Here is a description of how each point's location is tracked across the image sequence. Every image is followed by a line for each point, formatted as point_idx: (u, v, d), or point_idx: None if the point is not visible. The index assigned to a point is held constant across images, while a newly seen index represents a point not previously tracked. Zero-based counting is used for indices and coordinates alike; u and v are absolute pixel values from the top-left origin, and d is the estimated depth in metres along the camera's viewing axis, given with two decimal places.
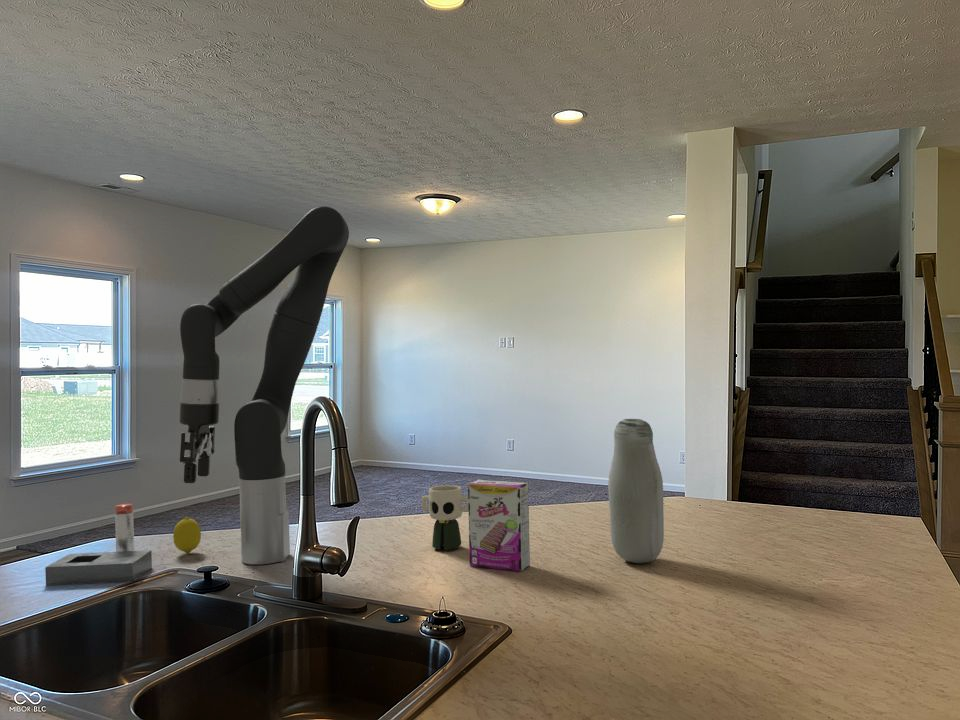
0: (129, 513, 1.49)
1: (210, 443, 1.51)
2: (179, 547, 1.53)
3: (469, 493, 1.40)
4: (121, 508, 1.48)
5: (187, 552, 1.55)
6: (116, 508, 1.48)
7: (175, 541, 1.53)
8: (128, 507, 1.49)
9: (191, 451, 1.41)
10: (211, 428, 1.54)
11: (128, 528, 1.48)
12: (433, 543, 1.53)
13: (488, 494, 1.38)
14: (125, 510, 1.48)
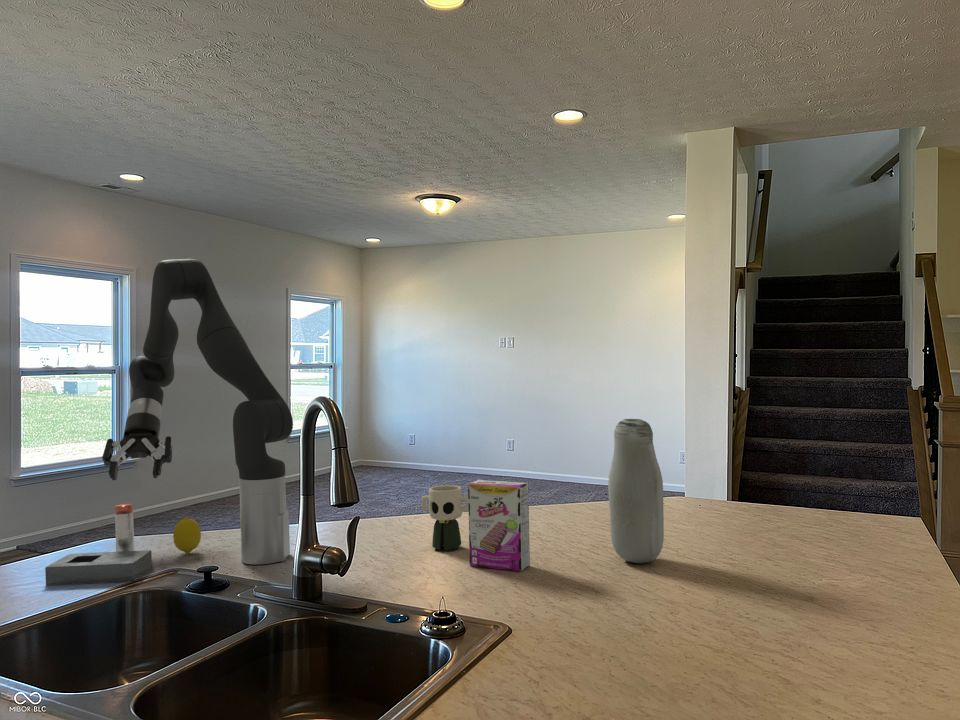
0: (129, 513, 1.49)
1: (149, 446, 1.65)
2: (179, 547, 1.53)
3: (469, 493, 1.40)
4: (121, 508, 1.48)
5: (187, 552, 1.55)
6: (116, 508, 1.48)
7: (175, 541, 1.53)
8: (128, 507, 1.49)
9: None
10: None
11: (128, 528, 1.48)
12: (433, 543, 1.53)
13: (488, 493, 1.38)
14: (125, 510, 1.48)
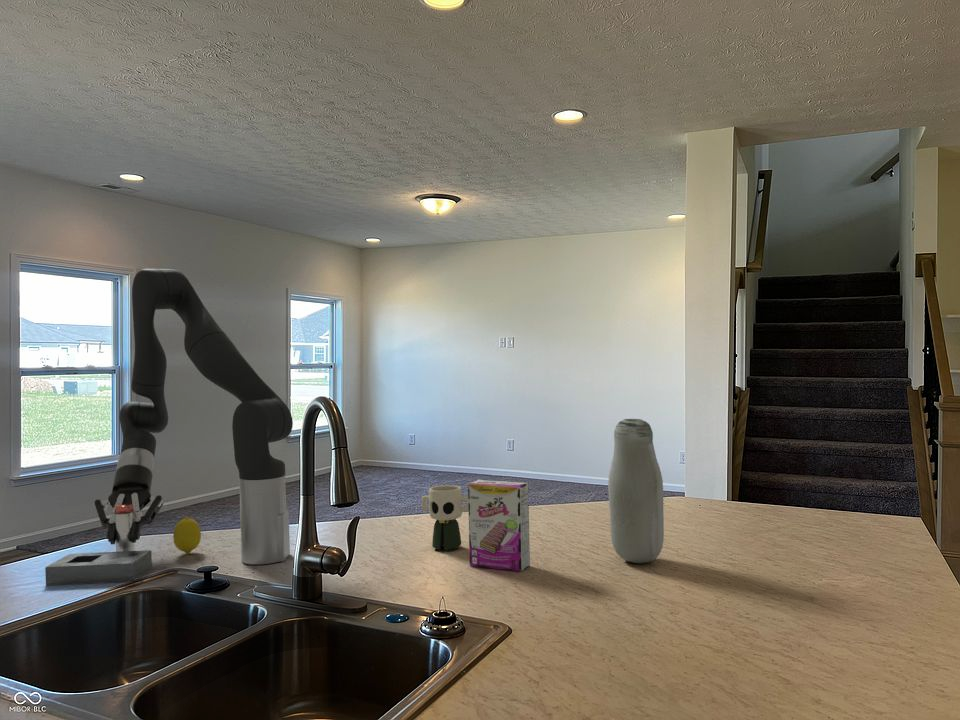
0: (129, 513, 1.49)
1: (135, 504, 1.52)
2: (179, 547, 1.53)
3: (469, 493, 1.40)
4: (121, 508, 1.48)
5: (187, 552, 1.55)
6: (116, 508, 1.48)
7: (175, 541, 1.53)
8: (128, 507, 1.48)
9: (98, 514, 1.50)
10: None
11: (128, 528, 1.48)
12: (433, 543, 1.53)
13: (488, 493, 1.38)
14: (125, 510, 1.48)
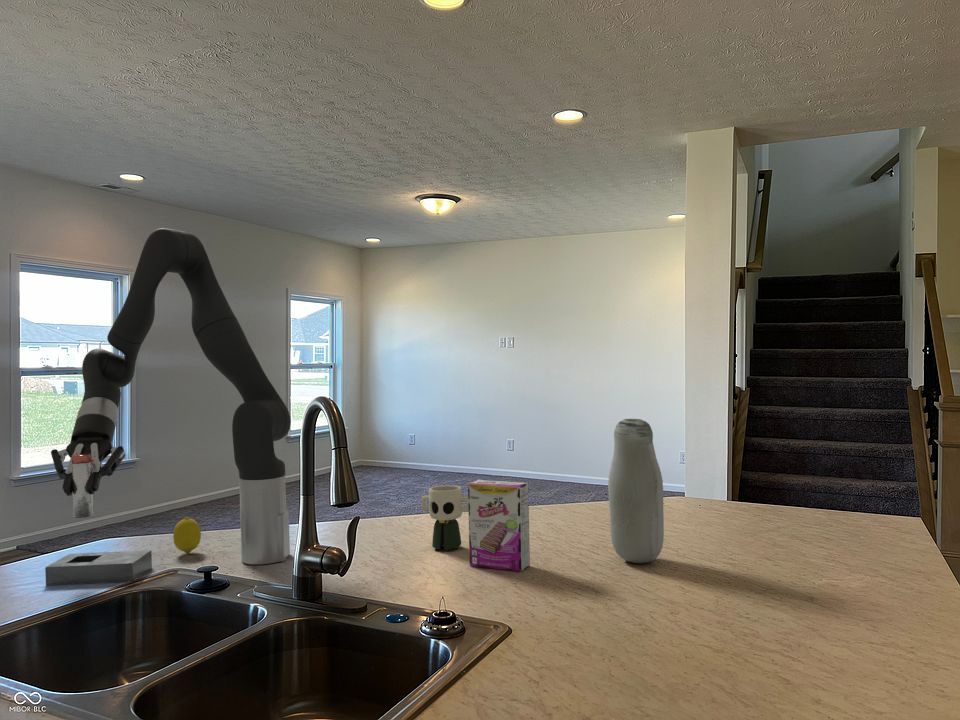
0: (87, 462, 1.40)
1: (94, 454, 1.43)
2: (179, 547, 1.53)
3: (469, 493, 1.40)
4: (78, 457, 1.39)
5: (187, 552, 1.55)
6: (73, 457, 1.39)
7: (175, 541, 1.53)
8: (86, 456, 1.39)
9: (54, 464, 1.41)
10: None
11: (85, 479, 1.39)
12: (433, 543, 1.53)
13: (488, 493, 1.38)
14: (82, 459, 1.39)
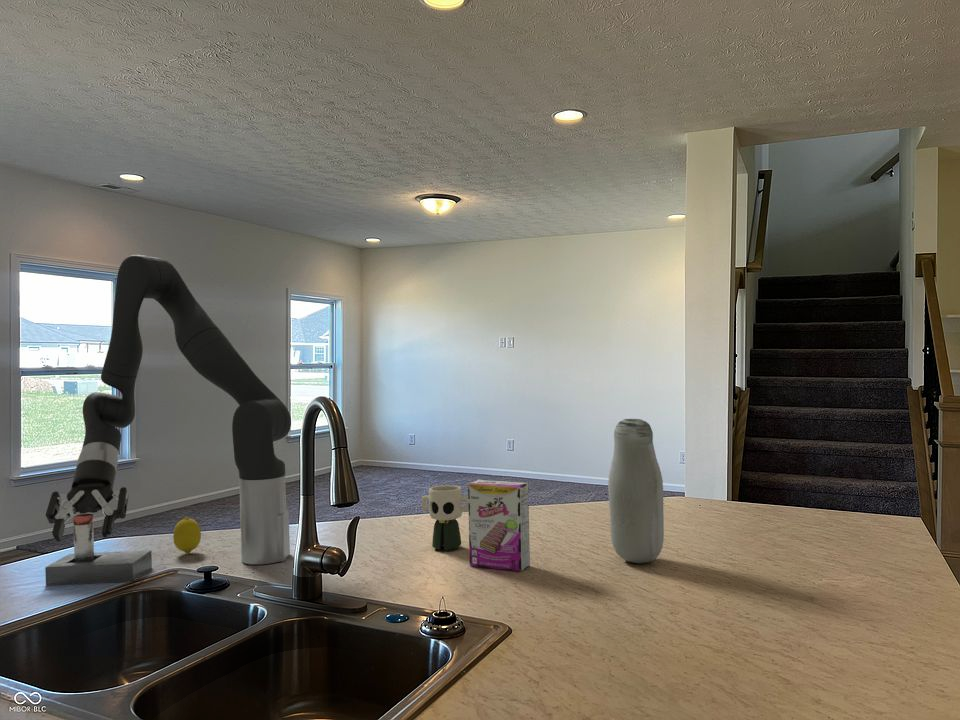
0: (89, 523, 1.40)
1: (100, 500, 1.43)
2: (179, 547, 1.53)
3: (469, 493, 1.40)
4: (80, 519, 1.39)
5: (187, 552, 1.55)
6: (74, 519, 1.39)
7: (175, 541, 1.53)
8: (87, 517, 1.39)
9: None
10: None
11: (87, 540, 1.39)
12: (433, 543, 1.53)
13: (488, 493, 1.38)
14: (84, 521, 1.39)
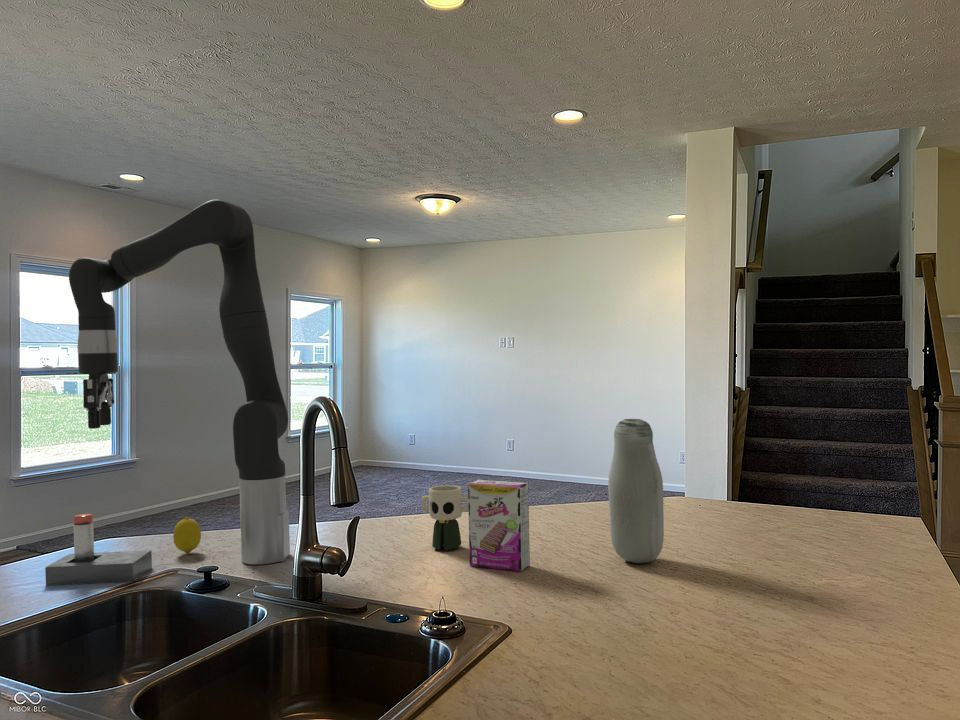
0: (89, 523, 1.40)
1: (110, 392, 1.58)
2: (179, 547, 1.53)
3: (469, 493, 1.40)
4: (80, 519, 1.39)
5: (187, 552, 1.55)
6: (74, 519, 1.39)
7: (175, 541, 1.53)
8: (87, 517, 1.39)
9: (94, 396, 1.48)
10: (109, 379, 1.61)
11: (87, 540, 1.39)
12: (433, 543, 1.53)
13: (488, 493, 1.38)
14: (84, 521, 1.39)
